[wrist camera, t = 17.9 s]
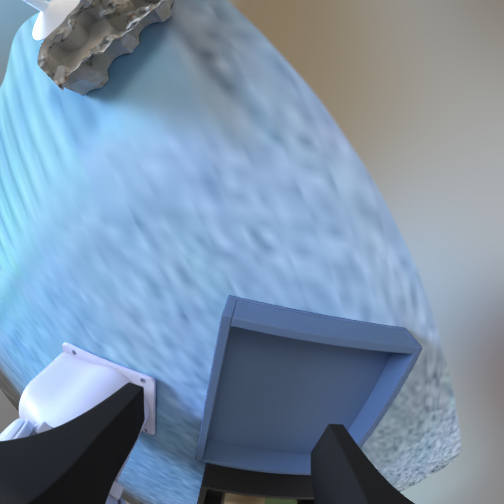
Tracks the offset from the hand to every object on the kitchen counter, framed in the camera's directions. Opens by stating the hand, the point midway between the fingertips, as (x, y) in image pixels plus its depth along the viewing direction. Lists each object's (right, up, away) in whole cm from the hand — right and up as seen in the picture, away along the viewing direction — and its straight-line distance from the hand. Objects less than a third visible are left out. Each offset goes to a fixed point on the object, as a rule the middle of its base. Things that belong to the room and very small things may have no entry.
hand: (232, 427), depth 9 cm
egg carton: (-10, +23, +5) cm, 26 cm away
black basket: (+2, -20, +14) cm, 25 cm away
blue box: (+4, -5, +10) cm, 12 cm away
